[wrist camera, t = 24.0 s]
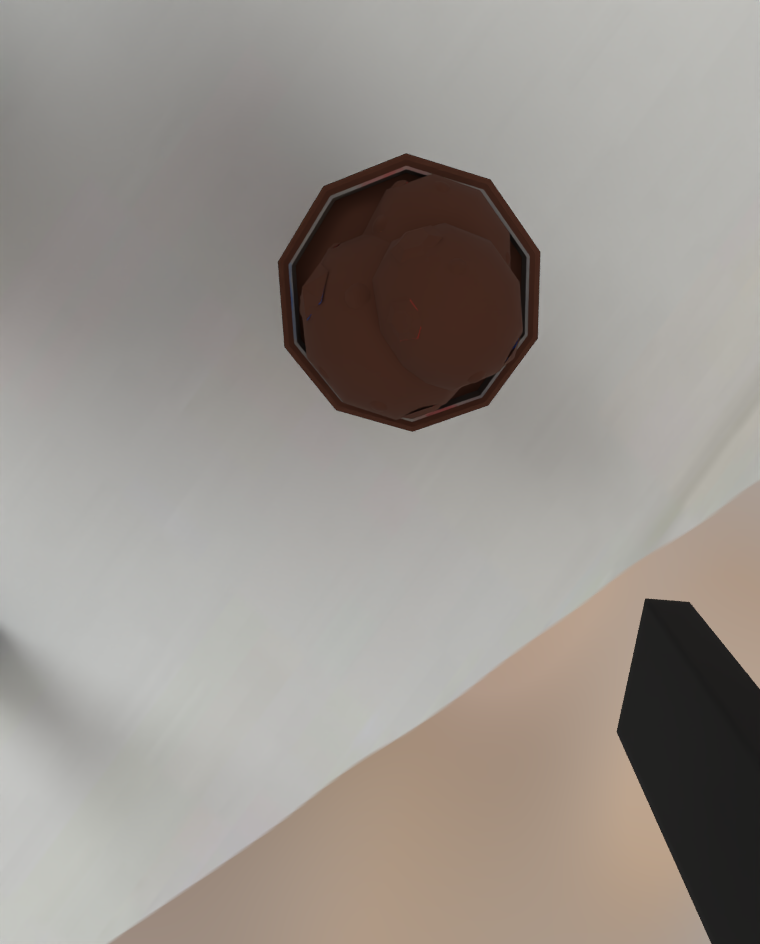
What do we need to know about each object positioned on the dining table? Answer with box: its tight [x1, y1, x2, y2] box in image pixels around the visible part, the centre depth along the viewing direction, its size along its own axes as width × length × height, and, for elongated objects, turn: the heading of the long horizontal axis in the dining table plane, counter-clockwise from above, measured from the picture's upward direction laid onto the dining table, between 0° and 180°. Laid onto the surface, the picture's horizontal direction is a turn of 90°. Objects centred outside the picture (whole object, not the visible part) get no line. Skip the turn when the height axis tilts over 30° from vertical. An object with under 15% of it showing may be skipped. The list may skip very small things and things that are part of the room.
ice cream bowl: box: [278, 154, 540, 432], centre depth 31 cm, size 11×11×15 cm
